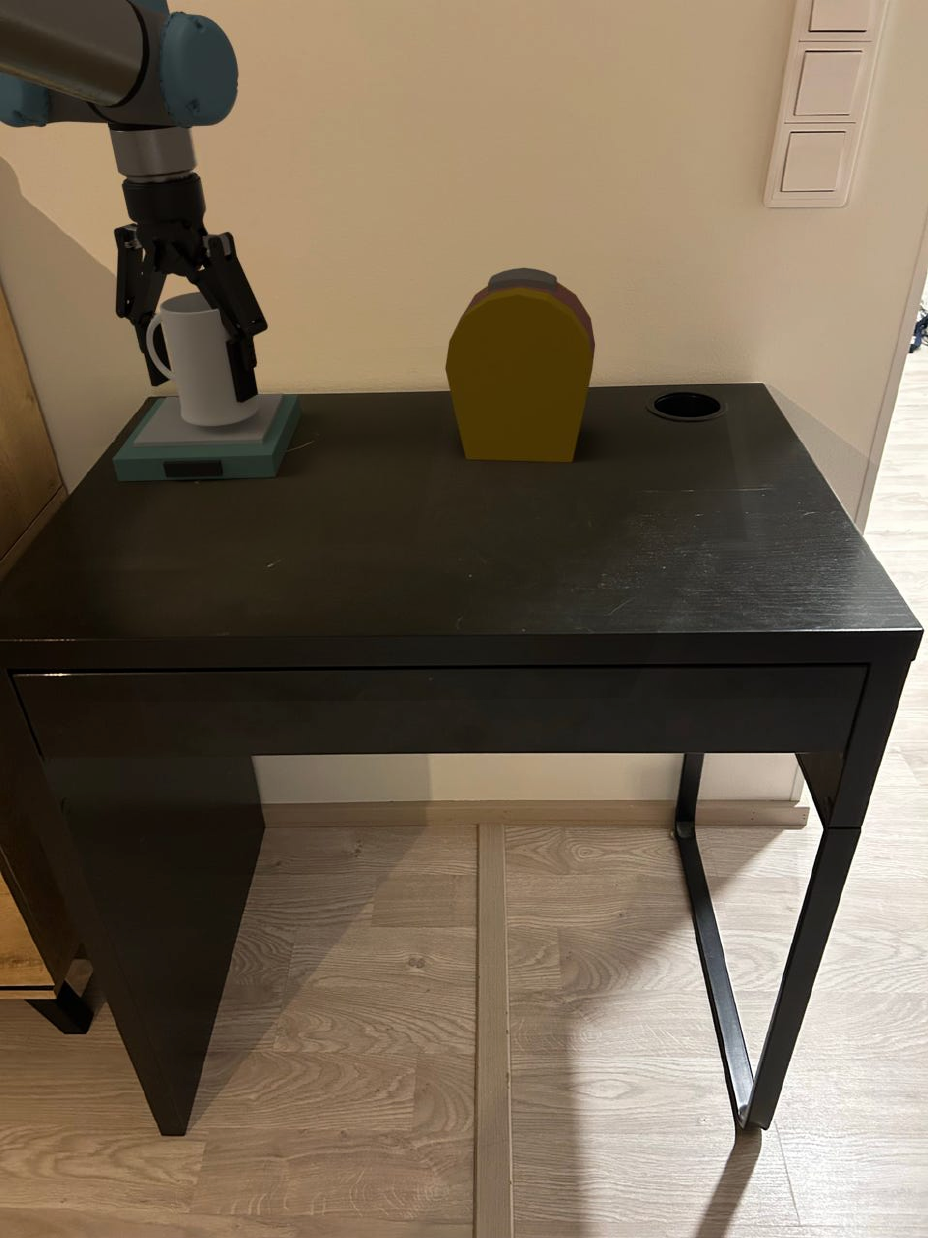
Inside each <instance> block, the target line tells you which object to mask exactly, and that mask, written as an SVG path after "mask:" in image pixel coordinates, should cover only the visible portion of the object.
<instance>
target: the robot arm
mask: <svg viewBox="0 0 928 1238" xmlns="http://www.w3.org/2000/svg"><path fill="white" fill-rule="evenodd" d="M239 72H240V71H239V66H238V60H237V56H236V53H235V50H234V47H233V45H232V43H231V41H230V39H229V37H228V35H227V34H226V32H225V31H224V30H223V29H222V27H221V26H220V25H218V23H217V22H216V21H214V20H213V19H212V18H210V17H208V16H205V15H201V14H194V13H193V14H192V13H186V12H184V11H181V10H180V11H173V12H170V7H169V4H168V0H0V122H1V123H2V124H4V125H6V126H9V127H11V128H17V129H20V128H30V127H36V128H45V127H47V125H49V124H56V123H57V124H58V123H86V124H87V123H89V124H106V125H107V128H108V131H109V136H110V140H111V145H112V150H113V155H114V160H115V164H116V169H117V173H118V174H120V175H121V176H124V177H126V178H124V179H123V181H122V183H121V189H122V193H123V198H124V203H125V206H126V211H127V216H128V218H129V219H130V220H131V221H132V222H131V223H129V224H125V225H122V226H119V227H116V228H114V230H113V235H114V240H115V245H116V250H117V258H116V259H117V262H116V286H115V287H116V288H115V314H116V316H117V317H118V318H119V319H127V321H129V323H130V324H131V326H133V327H134V330H135V334H136V339H137V343H138V347H139V350H140V352H141V354H143V356H144V360H145V364H146V365H145V366H146V369H147V373H148V377H149V381H150V382H149V383H150V386H151V387H156V388H157V387H159V386H162V385H163V384H166V383H167V382H170V381H171V380H170V379H168V378H167V377H166V376H165V375H164V374H163V373H162V372H161V371H160V370H159V369H158V368H157V367H156V365H155V364H154V362H153V360H152V358H151V356H150V354H149V351H148V347H147V330H148V326H149V324H150V322H151V321H152V319H153V318H154V317H155V316H156V315H157V313H156V311H157V308H158V305H159V302H160V299H161V296H162V293H163V291H164V290H163V289H164V287H165V283H166V281H167V278H168V275H176V276H178V277H181V278H186V279H187V281H188V283H190V284H191V285H193V286H195V287H196V288H197V289H198V292H201V294H202V295H203V297H204V298H205V299H206V301H207V302H208V304H209V305H210V307H211V308H212V310H214V309H219V312H220V317H221V322H222V325H223V326H224V328H225V329H226V330H227V332H228V333H229V335H230V336H231V338H230V339H229V340H228V341H226V346H227V352H228V357H229V362H230V368H231V373H232V379H233V384H234V389H235V395H236V400H237V402H240V403H243V402H245V401H247V400H249V399H250V398H252V397H254V396H256V395H258V394H259V390H258V384H257V383H258V382H257V379H256V372H255V368H257V366H258V359H257V354H256V353H257V352H256V347H255V342H254V341H255V340H254V338H255V336H257V335H259V334H261V333H263V332H265V331H267V330H268V328H269V324H268V322H267V320H266V317H265V315H264V313H263V310H262V309H261V305H260V303H259V302H258V299H257V297H256V295H255V293H254V291H253V288H252V286H251V284H250V282H249V280H248V278H247V275H246V273H245V270H244V269H243V267H242V264H241V262H240V260H239V256H238V254H237V249H236V243H235V237H234V235H233V234H232V233H231V232H230V231H225V232H222V233H219V234H211V233H209V232H208V230H207V228H206V226H205V223H204V217H205V213H206V211H207V205H206V200H205V194H204V189H203V182H202V177H201V176H199V174H198V173H197V172H194V170H195V169H196V168H197V166H198V165H199V164H198V158H197V152H196V147H195V142H194V136H193V131H192V128H194V127H210V126H211V127H212V126H215V125H218V124H220V123H221V122H223V121H224V120H226V118H228V116H229V115H230V113H231V112H232V110H233V108H234V106H235V103H236V101H237V97H238V93H239V91H238V87H239V76H240V75H239ZM237 323H238V324H239V326H240V327H239V328H238V326H237ZM153 346H154V350H155V352H156V354H157V356H158V358H159V360H160V361H161V362H162V364H163V365H164V366H165V367H166V368H167V369H169V370H170V371H172V367H171V362H170V358H169V352H168V348H167V343H166V339H165V334H164V331H163V326H162V322H161V323H159V324H158V325H157V326H156V327H155V329H154V332H153Z"/></svg>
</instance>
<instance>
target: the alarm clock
mask: <svg viewBox="0 0 928 1238" xmlns="http://www.w3.org/2000/svg"><path fill="white" fill-rule="evenodd" d="M594 335H595V334H594V330H593V322H592V318H591V316H590V314H589V313H588V311H587V310H586V308H585V307H584V305H583V304H582V302H581V300H580V299H579V297H578V295H577V294H576V293H574V292H573V291H572V290H570V289H568V288H567V287H566V286H564V285H562V284H561V283H560V282H558V278H557V276H556V275H554V274H552V273H550V272H548V271H545V270H542V269H536V268H531V267H518V268H512V269H507V270H502V271H500V272H497V273H496V274H493V275H491V276H490V277H489V280H488V282H487V286H485V287H484V288H482V289H481V290H480V291H478V292H476V293H475V294H474V296H473V298H471V301H470V302H469V303H468V305H467V307H466V309H465V310H464V312H463V314H461V316H460V319H459V320H458V323H457V325H456V326H455V329H454V330H453V333H452V335H451V337H450V339H449V341H448V346H447V347H448V348H447V353H446V361H445V367H444V369H445V370H444V371H445V375H446V378H447V383H448V387H449V391H450V396H451V398H452V399H451V400H452V404H453V405H452V406H453V409H454V413H455V418H456V422H457V427H458V430H459V434H460V439H461V443H462V448H463V452H464V457H465V460H473V461H474V460H475V461H476V460H477V461H510V462H511V461H512V462H542V463H544V462H545V463H547V462H548V463H573V460H574V456H575V452H576V447H577V443H578V437H579V433H580V428H581V424H582V419H583V416H584V411H585V405H586V400H587V396H588V392H589V387H590V382H591V379H592V374H593V367H594V359H595V351H596V342H595V336H594Z"/></svg>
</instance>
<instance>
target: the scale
mask: <svg viewBox="0 0 928 1238" xmlns="http://www.w3.org/2000/svg"><path fill="white" fill-rule="evenodd" d="M256 396H257V399H258V401H259V404H260V407H259V410H258V411H257V412H256V413H255V414H254V415H253V416H251V417H249V418H247V419H245V420H242V421H239V422H236V423H232V424H227V425H221V426H199V425H193V424H190V423H188V422H186V421H184V420H183V418H182V417H181V403H180V398H179V396H167V397H159V398H157V400H155V402H154V403H153V405H152V406H151V408H150V409H149V410H148V412H147V413H146V414H145V415H144V416H143V418H142V419H141V420H140V422H139V423H138V425H136V428H135V429H133V430H132V433H131V434H130V435H129V437H127V439H126V441H124V443H123V444H122V446H121V447H120V449H119V450H118V451H117V452H116V454H115V455H114V456H113V458H112V463H113V467H114V471H115V474H116V478H117V481H118V482H143V481H144V482H147V481H148V482H149V481H176V480H177V481H182V480H183V481H184V480H219V479H220V480H221V479H222V480H223V479H256V478H276V477H277V475H278V473H279V470H280V468H281V466H282V462H283V460H284V458H285V456H286V453H287V451H288V448H289V446H290V443H291V441H292V438H293V436H294V433H295V431H296V429H297V427H298V425H299V422H300V420H301V417H302V415H303V414H302V406H301V400H300V399H301V398H300V394H299V393H289V394H288V393H286V394H285V393H258V395H256Z"/></svg>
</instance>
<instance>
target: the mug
mask: <svg viewBox="0 0 928 1238" xmlns="http://www.w3.org/2000/svg"><path fill="white" fill-rule="evenodd" d="M159 311H160V312H159V313H156V315H154V316H155V317H154V318H153V319H152V320H151V322H150V324H149V326H148V330H147V347H148V351H149V354H150V356H151V358H152V360H153V362H154V364H155V365H156V367H157V368H158V369H159V370H160V371H161V372H162V373H163V374H164V375H165V376H166V377H167V378H168V379H170V380H169V381H172V382H173V383H175V384H176V388H177V392H178V397H179V398H180V403H181V417H182V418H183V420H184V421H186V422H188V423H190V424H193V425H199V426H221V425H227V424H232V423H236V422H239V421H242V420H245V419H247V418H249V417H251V416H253V415H254V414H255V413H256V412H257V411H258V410H259V407H260V404H259V401H258V399H257V396H254V397H252V398H250V399H249V400H247V401H245V402H243V403H240V402H237V400H236V395H235V389H234V384H233V379H232V373H231V368H230V362H229V357H228V352H227V346H226V341H228V340H229V339H230V338H231V336H230V335H229V333H228V332H227V330H226V329H225V328H224V326H223V325H222V322H221V317H220V312H219V309H214V310H212V308H211V307H210V305H209V304H208V302H207V301H206V299H205V298H204V297H203V295H202V294H201V292H200V291H194V292H188V293H183V294H180V295H176V296H173V297H170V298H168V299H166V300H164V301H162V303H160V305H159ZM159 323H161V324H163V329H164V335H165V338H166V342H167V343H166V344H167V347H168V353H169V356H170V361H171V365H172V370H173V371H172V370H171V371H170V370H169V369H167V368H166V367H165V366H164V365H163V364H162V362H161V361H160V360H159V358H158V356H157V354H156V352H155V350H154V346H153V332H154V329H155V327H156V326H157V325H158V324H159ZM237 326H238V328H239V327H240V326H239V324H238V323H237Z"/></svg>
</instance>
